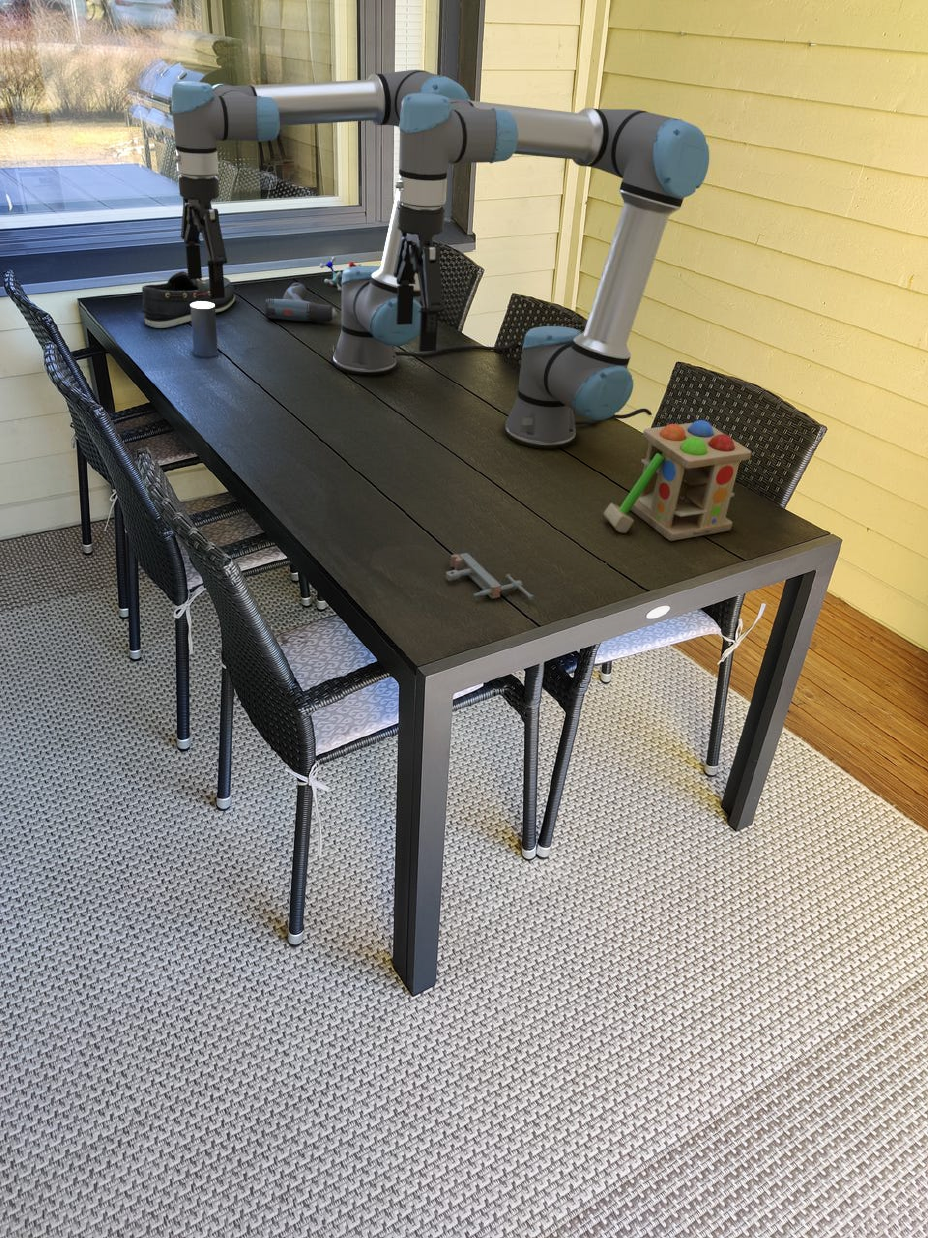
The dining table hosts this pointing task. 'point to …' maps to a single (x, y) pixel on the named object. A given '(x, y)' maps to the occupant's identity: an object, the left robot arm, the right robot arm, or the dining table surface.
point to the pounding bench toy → (683, 482)
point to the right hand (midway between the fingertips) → (415, 336)
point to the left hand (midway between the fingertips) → (206, 287)
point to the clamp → (480, 576)
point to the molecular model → (335, 275)
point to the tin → (204, 329)
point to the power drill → (298, 307)
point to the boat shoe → (180, 299)
